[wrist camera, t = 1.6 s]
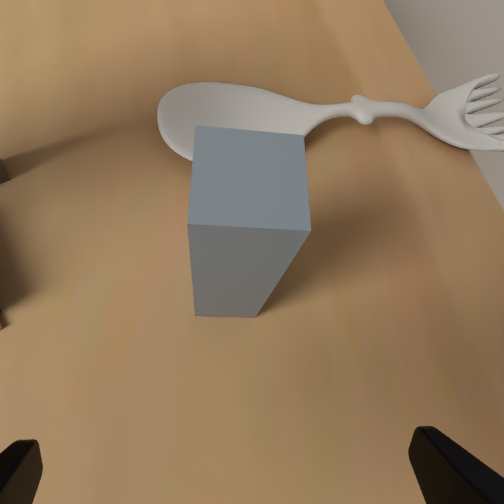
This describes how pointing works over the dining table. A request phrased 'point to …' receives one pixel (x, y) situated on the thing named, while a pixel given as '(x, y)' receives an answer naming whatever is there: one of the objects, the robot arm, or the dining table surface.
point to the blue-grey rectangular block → (244, 216)
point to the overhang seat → (0, 177)
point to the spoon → (324, 113)
